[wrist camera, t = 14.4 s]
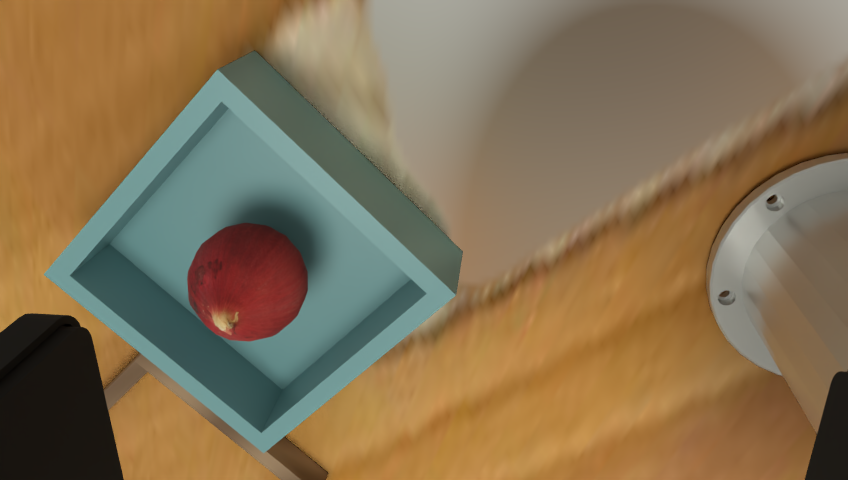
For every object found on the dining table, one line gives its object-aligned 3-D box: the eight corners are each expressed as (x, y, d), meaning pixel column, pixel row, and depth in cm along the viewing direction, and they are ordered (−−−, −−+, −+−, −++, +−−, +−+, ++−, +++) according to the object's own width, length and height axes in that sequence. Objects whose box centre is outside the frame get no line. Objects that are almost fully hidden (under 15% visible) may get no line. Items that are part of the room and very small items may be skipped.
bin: (462, 251, 39) (456, 295, 35) (289, 399, 45) (263, 453, 40) (254, 50, 36) (217, 69, 32) (94, 235, 42) (43, 274, 37)
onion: (222, 291, 41) (159, 371, 34) (216, 196, 39) (147, 260, 31) (323, 302, 41) (281, 386, 33) (323, 207, 38) (278, 275, 31)
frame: (328, 473, 47) (320, 495, 45) (201, 570, 52) (189, 593, 50) (158, 333, 44) (143, 351, 42) (42, 450, 49) (24, 471, 47)
